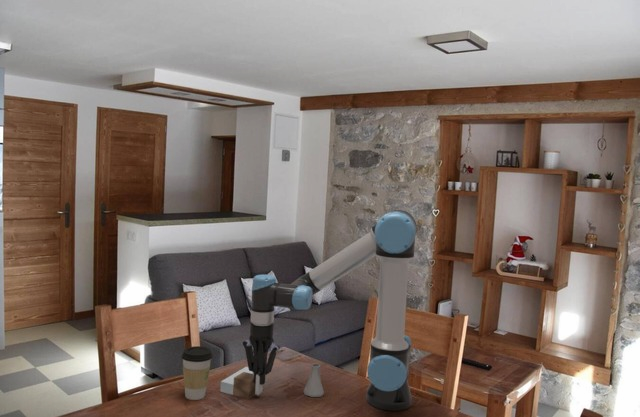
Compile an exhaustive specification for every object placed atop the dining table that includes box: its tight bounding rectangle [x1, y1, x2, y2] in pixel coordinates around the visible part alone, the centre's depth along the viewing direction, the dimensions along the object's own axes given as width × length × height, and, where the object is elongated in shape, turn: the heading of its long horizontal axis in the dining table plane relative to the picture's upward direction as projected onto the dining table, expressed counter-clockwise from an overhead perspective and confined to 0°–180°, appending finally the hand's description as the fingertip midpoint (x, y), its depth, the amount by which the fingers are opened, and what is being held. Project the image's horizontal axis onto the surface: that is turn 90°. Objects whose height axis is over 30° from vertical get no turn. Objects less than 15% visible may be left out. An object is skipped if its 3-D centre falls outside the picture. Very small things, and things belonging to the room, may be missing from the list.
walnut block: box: [232, 372, 257, 400], centre depth 179 cm, size 6×6×6 cm
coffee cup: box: [181, 345, 213, 401], centre depth 174 cm, size 10×10×15 cm
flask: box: [303, 362, 325, 398], centre depth 183 cm, size 7×7×10 cm
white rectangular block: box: [219, 366, 254, 396], centre depth 185 cm, size 5×16×4 cm, turn 156°
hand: (258, 393), depth 177 cm, fingers closed
